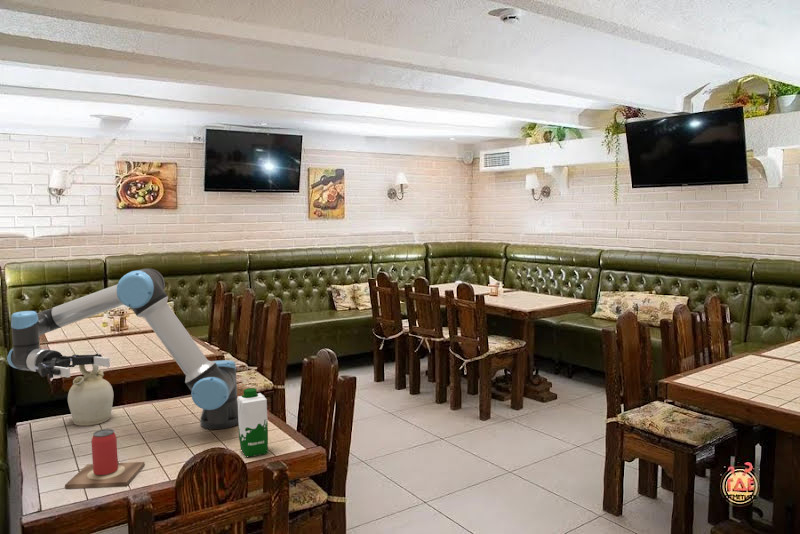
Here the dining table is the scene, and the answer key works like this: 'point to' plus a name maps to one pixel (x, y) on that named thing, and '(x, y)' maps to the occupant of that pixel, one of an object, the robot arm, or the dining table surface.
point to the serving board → (105, 476)
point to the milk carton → (253, 423)
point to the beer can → (104, 452)
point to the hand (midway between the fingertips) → (89, 367)
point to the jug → (90, 398)
